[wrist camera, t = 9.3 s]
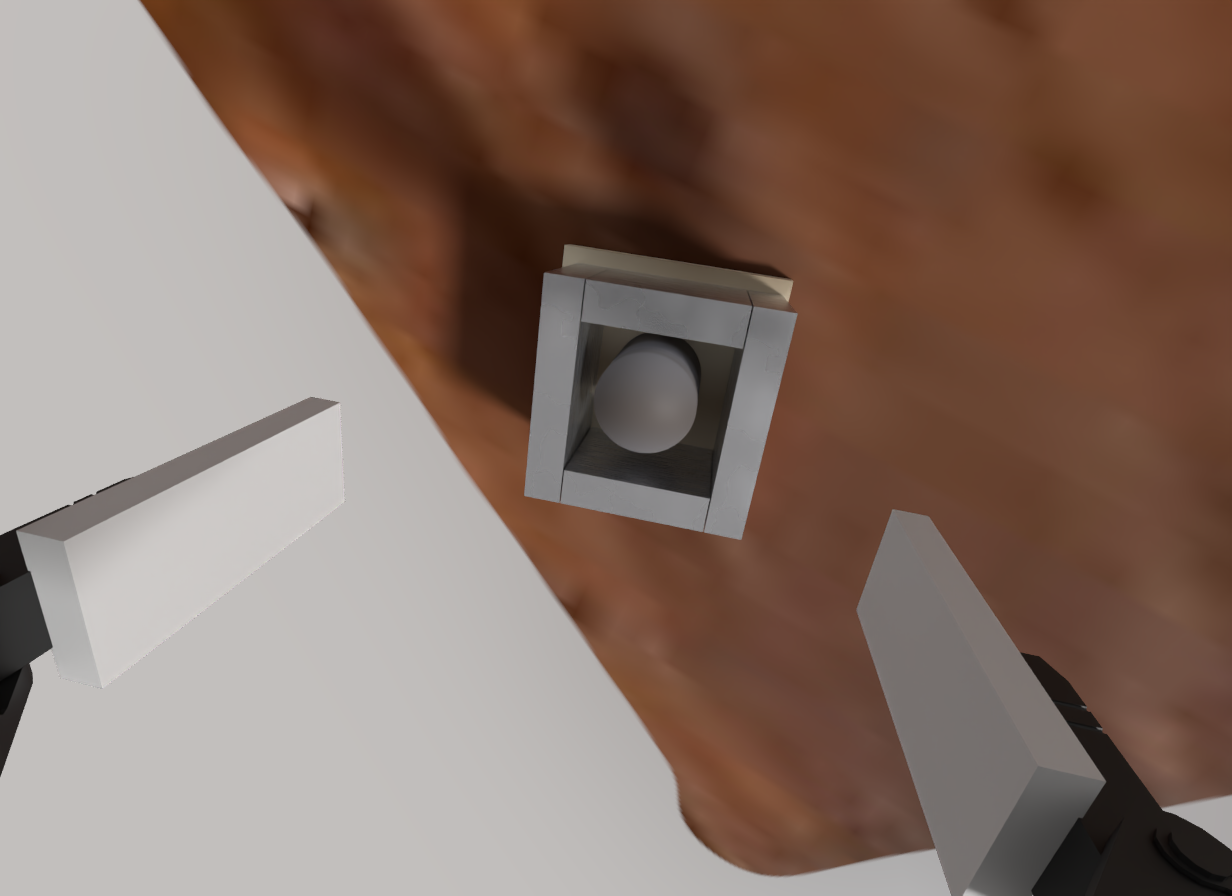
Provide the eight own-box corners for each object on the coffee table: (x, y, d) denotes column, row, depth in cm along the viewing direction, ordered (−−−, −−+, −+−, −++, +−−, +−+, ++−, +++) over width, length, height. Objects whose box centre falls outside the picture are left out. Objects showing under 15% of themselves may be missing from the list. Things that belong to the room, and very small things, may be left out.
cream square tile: (569, 244, 27) (530, 249, 22) (790, 278, 26) (808, 294, 21) (548, 445, 31) (510, 494, 25) (741, 483, 30) (745, 542, 24)
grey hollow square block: (578, 262, 26) (543, 272, 21) (782, 295, 25) (797, 313, 20) (558, 449, 30) (524, 495, 25) (737, 483, 29) (741, 539, 24)
